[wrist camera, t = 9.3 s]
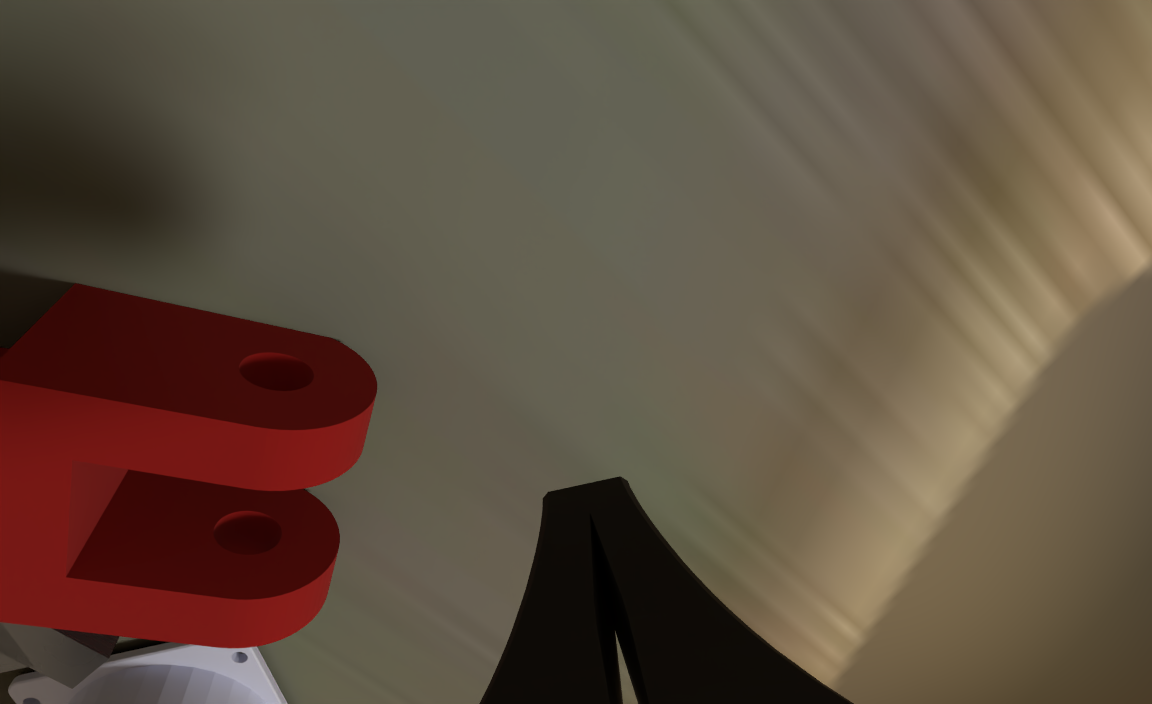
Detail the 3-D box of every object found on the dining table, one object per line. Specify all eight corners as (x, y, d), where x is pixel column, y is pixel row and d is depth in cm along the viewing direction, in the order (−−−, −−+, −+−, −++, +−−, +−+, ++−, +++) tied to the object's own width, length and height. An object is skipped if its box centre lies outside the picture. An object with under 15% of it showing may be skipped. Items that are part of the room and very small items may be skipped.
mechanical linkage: (384, 345, 23) (367, 447, 19) (338, 534, 26) (314, 658, 22) (-291, 200, 19) (-506, 287, 15) (-253, 442, 22) (-423, 572, 18)
